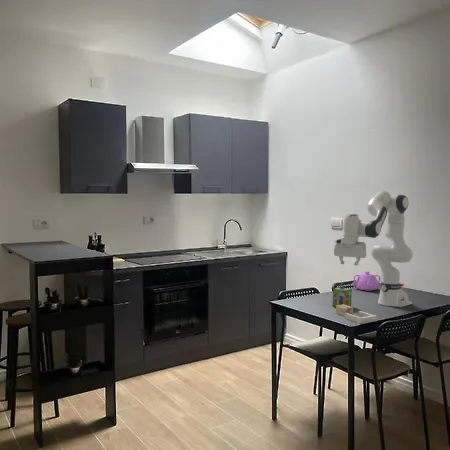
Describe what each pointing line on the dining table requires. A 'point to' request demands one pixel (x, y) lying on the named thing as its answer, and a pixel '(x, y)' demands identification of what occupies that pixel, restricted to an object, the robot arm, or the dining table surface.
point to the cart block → (344, 309)
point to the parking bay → (361, 317)
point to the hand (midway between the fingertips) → (349, 264)
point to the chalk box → (342, 296)
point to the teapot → (366, 281)
